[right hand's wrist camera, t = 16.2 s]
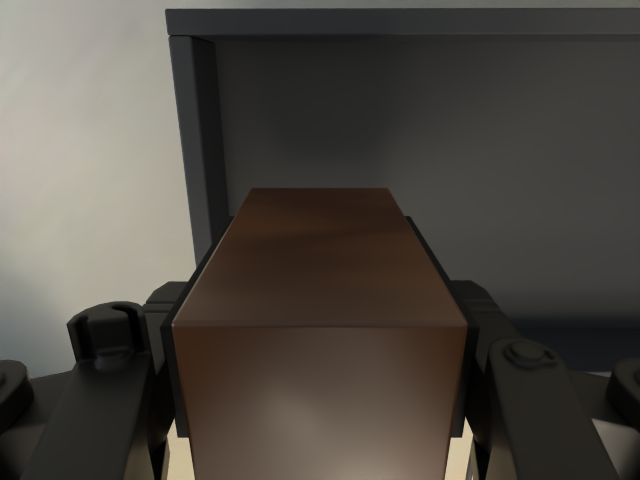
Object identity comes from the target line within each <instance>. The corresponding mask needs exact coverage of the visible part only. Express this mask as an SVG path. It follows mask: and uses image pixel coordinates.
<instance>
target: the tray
mask: <svg viewBox="0 0 640 480" xmlns="http://www.w3.org/2000/svg"><path fill="white" fill-rule="evenodd" d="M165 15H166V24H167V32H168V35H170V36H169V46H170V55H171V63H172V71H173V79H174V88H175V96H176V104H177V112H178V121H179V129H180V137H181V145H182V153H183V162H184V170H185V178H186V186H187V195H188V203H189V211H190V219H191V228H192V236H193V244H194V252H195V261H196V268H197V267H198V265H199V264H200V262H201V261H202V259H203V257H204V256H205V254H206V253H207V251H208V249H209V248H210V246H211V245H212V243H213V241H214V240H215V238H216V237H217V235H218V234H219V232H220V230H221V229H222V227H223V226H224V224H225V222H226V221H227V219H228V218H229V216H235V215H236V214H237V212H238V210H239V209H240V207H241V205H242V204H243V202H244V200H245V199H246V197H247V195H248V194H249V192H250V190H251V189H252V188H388V189H389V190H390V192H391V194H392V195H393V197H394V199H395V201H396V202H397V204H398V206H399V207H400V209H401V211H402V212H403V214H404V216H410V217H411V218H412V220H413V221H414V223H415V224H416V226H417V228H418V229H419V231H420V232H421V234H422V236H423V237H424V239H425V240H426V242H427V244H428V245H429V247H430V248H431V250H432V251H433V253H434V255H435V256H436V258H437V259H438V261H439V263H440V264H441V266H442V267H443V269H444V271H445V272H446V274H447V275H448V277H449V278H450V280H471V281H473V282H475V283H476V284H478V285H479V286H481V287H483V288H484V289H486V290H487V292H488V293H489V294H490V296H491V297H492V298H493V300H494V302H496V303H497V305H498V306H499V307H500V309H501V311H503V313H504V314H505V315H506V317H507V318H508V319H509V320H510V322H511V323H512V324H513V326H514V327H515V328H516V330H517V331H518V332H519V334H520V335H521V336H522V337H523V338H526V339H531V340H534V341H536V342H539V343H541V344H544V345H546V346H547V347H549V348H550V349H552V350H553V351H555V352H556V353H557V354H558V355H559V356H560V357H561V359H562V360H563V361H564V363H565V365H566V367H567V368H568V369H572V370H576V371H580V372H585V373H590V374H595V375H600V376H605V377H610V376H611V372H612V369H613V366H614V364H615V363H617V362H618V361H619V360H621V359H627V358H639V359H640V8H319V9H165Z"/></svg>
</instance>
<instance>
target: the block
mask: <svg viewBox="0 0 640 480" xmlns="http://www.w3.org/2000/svg"><path fill="white" fill-rule="evenodd" d="M467 328H468V323H467V321H466V319H465V317H464V315H463V314H462V312H461V310H460V309H459V307H458V305H457V304H456V302H455V300H454V299H453V297H452V295H451V294H450V292H449V290H448V288H447V287H446V285H445V283H444V282H443V280H442V278H441V277H440V275H439V273H438V272H437V270H436V268H435V266H434V265H433V263H432V261H431V260H430V258H429V256H428V255H427V253H426V251H425V250H424V248H423V246H422V245H421V243H420V241H419V239H418V238H417V236H416V234H415V233H414V231H413V229H412V228H411V226H410V224H409V223H408V221H407V219H406V217H405V216H404V214H403V212H402V211H401V209H400V207H399V206H398V204H397V202H396V201H395V199H394V197H393V195H392V194H391V192H390V190H389V189H388V188H252V189H251V190H250V192H249V194H248V195H247V197H246V199H245V200H244V202H243V204H242V205H241V207H240V209H239V210H238V212H237V214H236V215H235V217H234V219H233V220H232V222H231V224H230V226H229V227H228V229H227V231H226V232H225V234H224V236H223V237H222V239H221V241H220V242H219V244H218V246H217V247H216V249H215V251H214V252H213V254H212V256H211V257H210V259H209V261H208V262H207V264H206V266H205V268H204V269H203V271H202V273H201V274H200V276H199V278H198V279H197V281H196V283H195V284H194V286H193V288H192V289H191V291H190V293H189V294H188V296H187V298H186V299H185V301H184V303H183V304H182V306H181V308H180V310H179V311H178V313H177V315H176V316H175V318H174V320H173V322H172V331H173V338H174V344H175V351H176V358H177V364H178V371H179V377H180V384H181V390H182V397H183V403H184V410H185V416H186V423H187V430H188V436H189V443H190V449H191V456H192V462H193V469H194V475H195V480H444V479H445V473H446V466H447V459H448V453H449V446H450V440H451V433H452V426H453V420H454V413H455V407H456V400H457V394H458V387H459V380H460V374H461V367H462V361H463V354H464V348H465V341H466V334H467Z"/></svg>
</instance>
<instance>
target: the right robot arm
mask: <svg viewBox="0 0 640 480" xmlns="http://www.w3.org/2000/svg"><path fill="white" fill-rule="evenodd" d="M234 217H235V216H229V218H228V219H227V221H226V222H225V224H224V226H223V227H222V229H221V230H220V232H219V234H218V235H217V237H216V238H215V240H214V241H213V243H212V245H211V246H210V248H209V249H208V251H207V253H206V254H205V256H204V257H203V259H202V261H201V262H200V264H199V265H198V267H197V268H196V270H195V272H194V273H193V275H192V276H191V278H190V280H189V281H188V282H167V283H166V284H164V285H163V286H161V287H160V288H158V289H156V290H155V291H154V292H153V293H152V294H151V296H150V297H149V298H148V300H147V301H146V304H144V305H143V306H140V305H139V304H137V303H133V302H128V301H118V302H109V303H104V304H99V305H96V306H94V307H91V308H88V309H85V310H84V311H82V312H80V313H79V314H77V315H75V316H74V317H73V318H72V319H71V320H70V321H69V322H68V323H67V324H66V325H67V328H68V332H69V336H70V340H71V344H72V348H73V351H74V355H75V359H76V364H75V366H74V368H73V370H71V371H68V372H64V373H59V374H54V375H49V376H44V377H39V378H34V379H30V377H29V374H28V370H27V367H26V366H25V365H24V364H22V363H21V362H19V361H13V360H2V361H0V480H167V474H168V466H169V457H170V451H169V444H168V439H167V434H168V432H169V430H170V427H171V425H172V422H173V420H174V418H175V424H176V430H177V436H178V438H189V436H188V430H187V423H186V416H185V410H184V403H183V397H182V390H181V384H180V377H179V371H178V364H177V358H176V351H175V344H174V338H173V331H172V322H173V320H174V318H175V316H176V315H177V313H178V311H179V310H180V308H181V306H182V304H183V303H184V301H185V299H186V298H187V296H188V294H189V293H190V291H191V289H192V288H193V286H194V284H195V283H196V281H197V279H198V278H199V276H200V274H201V273H202V271H203V269H204V268H205V266H206V264H207V262H208V261H209V259H210V257H211V256H212V254H213V252H214V251H215V249H216V247H217V246H218V244H219V242H220V241H221V239H222V237H223V236H224V234H225V232H226V231H227V229H228V227H229V226H230V224H231V222H232V220H233V219H234ZM405 217H406V219H407V221H408V223H409V224H410V226H411V228H412V229H413V231H414V233H415V234H416V236H417V238H418V239H419V241H420V243H421V245H422V246H423V248H424V250H425V251H426V253H427V255H428V256H429V258H430V260H431V261H432V263H433V265H434V266H435V268H436V270H437V272H438V273H439V275H440V277H441V278H442V280H443V282H444V283H445V285H446V287H447V288H448V290H449V292H450V294H451V295H452V297H453V299H454V300H455V302H456V304H457V305H458V307H459V309H460V310H461V312H462V314H463V315H464V317H465V319H466V321H467V323H468V328H467V334H466V341H465V348H464V354H463V361H462V367H461V374H460V380H459V387H458V394H457V400H456V407H455V413H454V420H453V426H452V433H451V438H462V434H463V428H464V422H465V416H466V419H467V421H468V423H469V426H470V428H471V430H472V433H473V439H472V444H471V450H470V456H469V461H468V467H467V473H466V480H472V474H473V480H640V359H639V358H627V359H621V360H619V361H618V362H617V363H615V364H614V366H613V369H612V372H611V376H610V377H605V376H600V375H595V374H590V373H585V372H580V371H576V370H572V369H568V368H567V367H566V365H565V363H564V361H563V360H562V359H561V357H560V356H559V355H558V354H557V353H556V352H555V351H553V350H552V349H550V348H549V347H547V346H546V345H544V344H541V343H539V342H536V341H534V340H531V339H526V338H523V337H522V336H521V335H520V334H519V332H518V331H517V330H516V328H515V327H514V326H513V324H512V323H511V322H510V320H509V319H508V318H507V317H506V315H505V314H504V313H503V311H501V309H500V307H499V306H498V305H497V303H496V302H494V300H493V298H492V297H491V296H490V294H489V293H488V292H487V290H486V289H484V288H483V287H481V286H479V285H478V284H476V283H475V282H473V281H471V280H450V278H449V277H448V275H447V274H446V272H445V271H444V269H443V267H442V266H441V264H440V263H439V261H438V259H437V258H436V256H435V255H434V253H433V251H432V250H431V248H430V247H429V245H428V244H427V242H426V240H425V239H424V237H423V236H422V234H421V232H420V231H419V229H418V228H417V226H416V224H415V223H414V221H413V220H412V218H411V217H410V216H405Z"/></svg>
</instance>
